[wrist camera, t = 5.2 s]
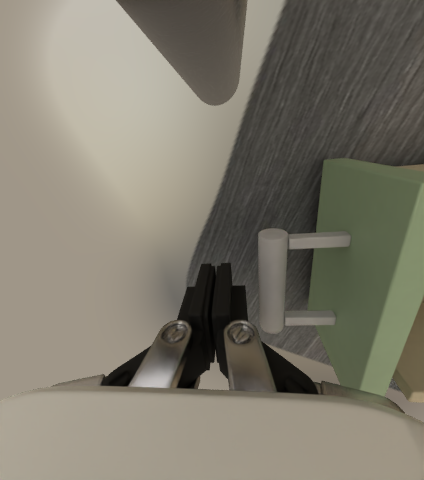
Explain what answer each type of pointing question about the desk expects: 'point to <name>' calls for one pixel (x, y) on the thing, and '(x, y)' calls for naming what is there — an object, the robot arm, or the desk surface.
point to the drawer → (359, 275)
